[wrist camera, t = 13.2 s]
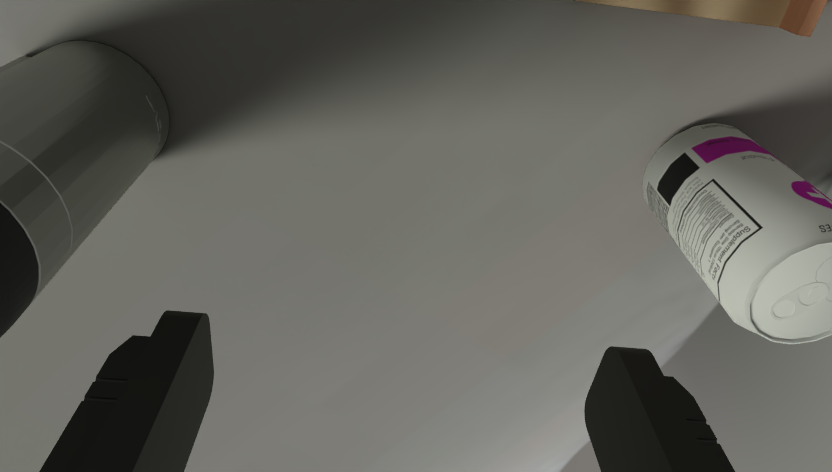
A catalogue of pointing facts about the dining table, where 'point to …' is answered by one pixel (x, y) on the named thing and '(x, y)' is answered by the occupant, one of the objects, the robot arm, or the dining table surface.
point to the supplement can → (747, 230)
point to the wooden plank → (738, 11)
